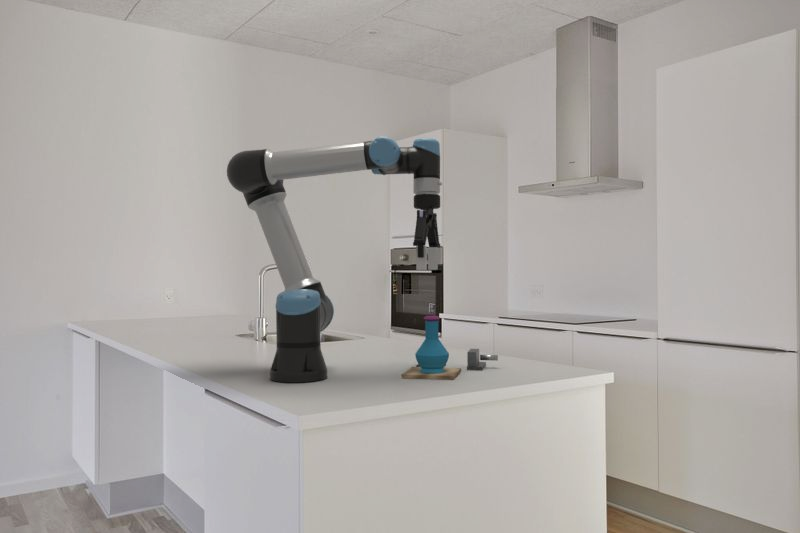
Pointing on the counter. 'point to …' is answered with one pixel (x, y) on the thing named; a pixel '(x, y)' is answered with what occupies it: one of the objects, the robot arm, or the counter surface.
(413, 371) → the pad
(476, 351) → the vise
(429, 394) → the counter surface
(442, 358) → the blue vase
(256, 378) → the counter surface
